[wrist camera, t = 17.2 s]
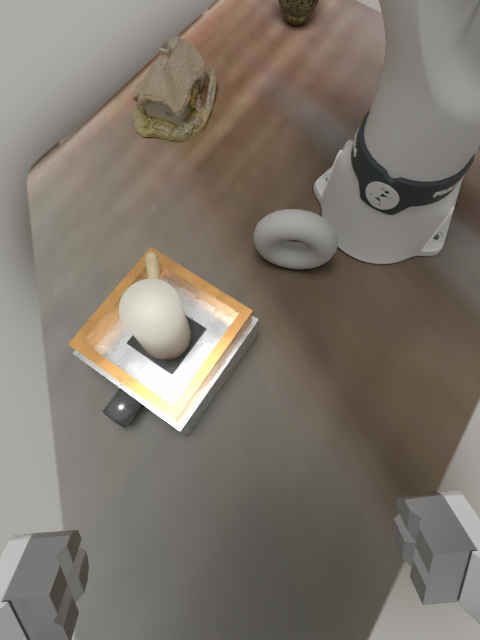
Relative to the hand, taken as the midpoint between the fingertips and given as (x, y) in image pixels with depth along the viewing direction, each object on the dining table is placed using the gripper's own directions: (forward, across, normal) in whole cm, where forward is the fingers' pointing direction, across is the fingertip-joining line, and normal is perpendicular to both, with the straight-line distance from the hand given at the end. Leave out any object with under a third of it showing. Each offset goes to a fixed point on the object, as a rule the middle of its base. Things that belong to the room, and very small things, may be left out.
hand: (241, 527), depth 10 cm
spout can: (+32, +6, +9) cm, 34 cm away
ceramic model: (+63, +5, -12) cm, 64 cm away
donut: (+43, -9, +7) cm, 45 cm away
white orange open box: (+35, +7, +15) cm, 39 cm away
